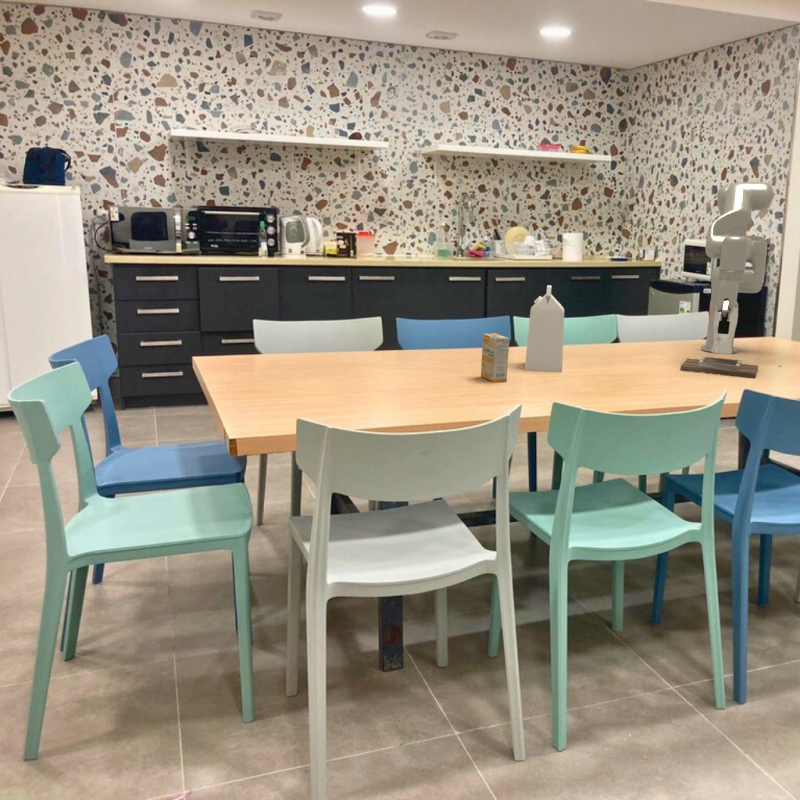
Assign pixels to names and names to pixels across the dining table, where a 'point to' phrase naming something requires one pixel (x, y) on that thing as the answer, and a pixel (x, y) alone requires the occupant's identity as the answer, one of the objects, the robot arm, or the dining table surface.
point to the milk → (545, 334)
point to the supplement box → (495, 357)
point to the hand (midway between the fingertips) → (724, 332)
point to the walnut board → (720, 367)
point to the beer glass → (724, 340)
